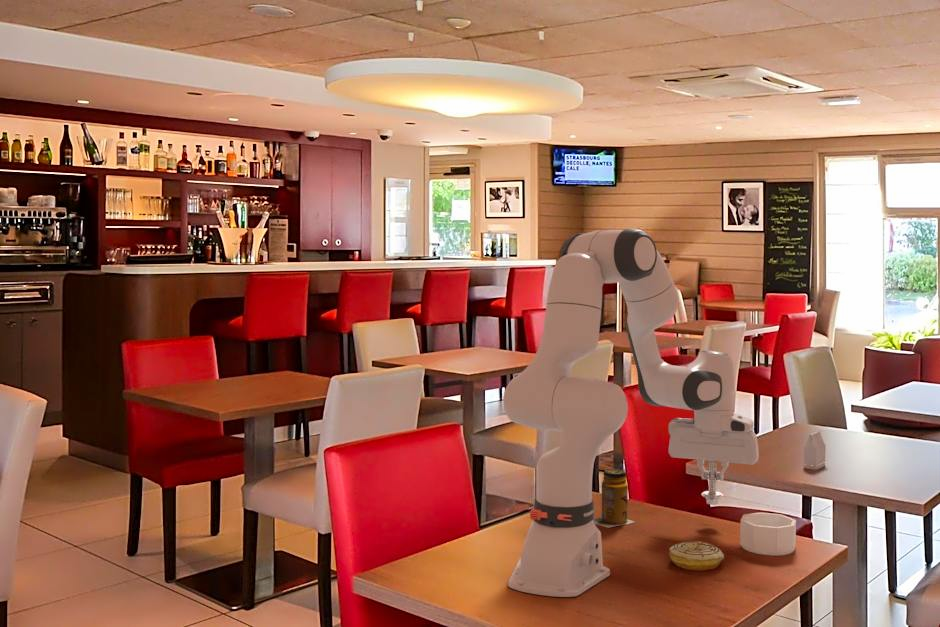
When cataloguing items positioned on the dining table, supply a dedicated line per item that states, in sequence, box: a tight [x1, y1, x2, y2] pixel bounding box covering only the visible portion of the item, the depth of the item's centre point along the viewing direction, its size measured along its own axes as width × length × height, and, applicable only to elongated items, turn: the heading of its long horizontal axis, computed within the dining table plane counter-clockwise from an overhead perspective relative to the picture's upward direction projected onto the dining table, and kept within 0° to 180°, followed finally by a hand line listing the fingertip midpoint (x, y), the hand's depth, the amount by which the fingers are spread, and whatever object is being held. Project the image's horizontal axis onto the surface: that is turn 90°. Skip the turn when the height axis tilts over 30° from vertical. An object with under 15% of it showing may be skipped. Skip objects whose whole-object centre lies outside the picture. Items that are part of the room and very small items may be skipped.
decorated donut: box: [668, 540, 725, 572], centre depth 195 cm, size 10×11×4 cm
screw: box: [701, 460, 724, 506], centre depth 222 cm, size 13×5×5 cm
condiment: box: [593, 468, 635, 529], centre depth 225 cm, size 7×8×12 cm
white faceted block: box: [803, 431, 826, 471], centre depth 278 cm, size 4×7×10 cm, turn 139°
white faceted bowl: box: [739, 511, 797, 557], centre depth 205 cm, size 11×11×6 cm
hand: (712, 479), depth 222 cm, fingers closed on screw, 2 cm apart
